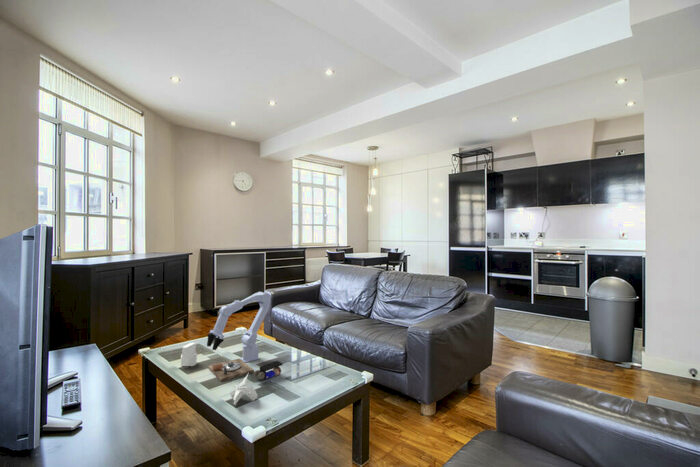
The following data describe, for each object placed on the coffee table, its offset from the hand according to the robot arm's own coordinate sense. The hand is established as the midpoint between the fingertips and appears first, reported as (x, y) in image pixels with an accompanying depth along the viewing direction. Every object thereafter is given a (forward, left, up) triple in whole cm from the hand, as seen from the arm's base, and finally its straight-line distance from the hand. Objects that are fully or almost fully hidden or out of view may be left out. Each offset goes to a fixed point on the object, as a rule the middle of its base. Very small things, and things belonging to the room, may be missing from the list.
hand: (211, 348), depth 196 cm
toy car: (-22, +33, -13) cm, 42 cm away
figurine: (-1, +49, -13) cm, 50 cm away
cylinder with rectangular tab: (+8, -17, -13) cm, 23 cm away
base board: (-9, +9, -13) cm, 18 cm away
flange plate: (-6, +9, -11) cm, 15 cm away
